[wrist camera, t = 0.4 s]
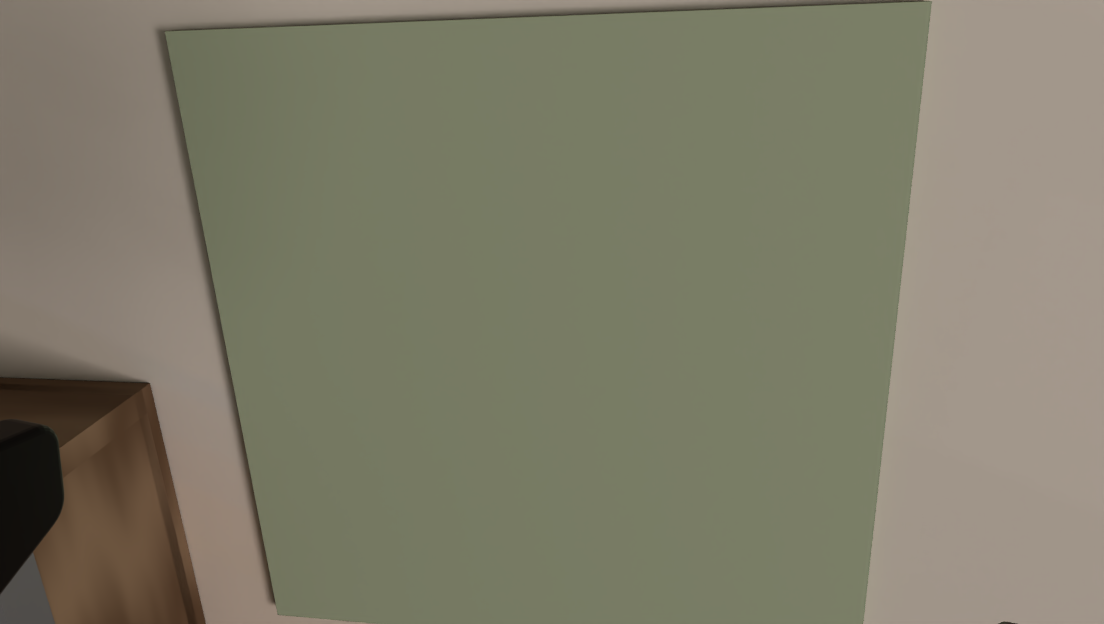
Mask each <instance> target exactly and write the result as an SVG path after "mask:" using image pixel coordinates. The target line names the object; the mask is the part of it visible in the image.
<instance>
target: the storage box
mask: <svg viewBox="0 0 1104 624" xmlns="http://www.w3.org/2000/svg"><path fill="white" fill-rule="evenodd" d="M5 419H18V420H23V421H28V422H33V423H38V424H43V425H47V426H49V427H50V428H51V429H53V430H54V432H55V433H56V435H57V437H58V441H59V449H60V458H61V467H62V476H63V485H64V504H63V508H62V511H61V513H60V515H59V517H58V519H57V521H56V522H55V524H54V525H53V527H52V528H51V529H50V531H49V532H48V533H47V534H46V536H45V537H44V538H43V540H42V541H41V542H40V544H39V545H38V546H37V547H36V549H35V550H34V551H33V554H34V557H35V560H36V564H37V567H38V570H39V573H40V576H41V580H42V583H43V586H44V589H45V592H46V596H47V599H48V602H49V605H50V609H51V612H52V615H53V618H54V621H55V624H206V623H205V618H204V614H203V610H202V606H201V601H200V597H199V593H198V588H197V584H196V580H195V575H194V571H193V567H192V563H191V558H190V554H189V550H188V545H187V541H186V537H185V532H184V528H183V524H182V519H181V515H180V511H179V507H178V502H177V498H176V494H175V489H174V485H173V481H172V476H171V472H170V468H169V464H168V459H167V455H166V451H165V446H164V442H163V438H162V433H161V429H160V425H159V421H158V416H157V412H156V408H155V403H154V399H153V395H152V390H151V386H150V383H128V382H102V381H76V380H50V379H25V378H0V420H5Z"/></svg>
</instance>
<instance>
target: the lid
mask: <svg viewBox="0 0 1104 624" xmlns="http://www.w3.org/2000/svg"><path fill="white" fill-rule="evenodd" d="M0 624H55V621H54V618H53V615H52V612H51V609H50V605H49V602H48V599H47V596H46V592H45V589H44V586H43V583H42V580H41V576H40V573H39V570H38V567H37V564H36V560H35V557H34V554H33V553H32V554H31V555H30V557H29V558H28V559H27V561H26V562H25V563H24V564H23V566H22V567H21V568H20V570H19V571H18V572H17V574H16V575H15V576H14V577H13V579H12V580H11V581H10V583H9V584H8V585H7V587H6V588H5V589H4V591H3V592H2V593H1V594H0Z"/></svg>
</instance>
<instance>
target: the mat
mask: <svg viewBox="0 0 1104 624" xmlns="http://www.w3.org/2000/svg"><path fill="white" fill-rule="evenodd" d="M931 4H932V1H914V2H889V3H863V4H838V5H813V6H788V7H762V8H737V9H712V10H686V11H661V12H636V13H610V14H585V15H560V16H535V17H509V18H484V19H459V20H433V21H408V22H383V23H357V24H332V25H307V26H282V27H256V28H231V29H206V30H180V31H165V36H166V41H167V46H168V51H169V56H170V61H171V67H172V72H173V77H174V82H175V87H176V92H177V97H178V103H179V108H180V113H181V118H182V123H183V128H184V134H185V139H186V144H187V149H188V154H189V159H190V165H191V170H192V175H193V180H194V185H195V190H196V195H197V201H198V206H199V211H200V216H201V221H202V226H203V232H204V237H205V242H206V247H207V252H208V257H209V263H210V268H211V273H212V278H213V283H214V288H215V293H216V299H217V304H218V309H219V314H220V319H221V324H222V330H223V335H224V340H225V345H226V350H227V355H228V361H229V366H230V371H231V376H232V381H233V386H234V391H235V397H236V402H237V407H238V412H239V417H240V422H241V428H242V433H243V438H244V443H245V448H246V453H247V459H248V464H249V469H250V474H251V479H252V484H253V489H254V495H255V500H256V505H257V510H258V515H259V520H260V526H261V531H262V536H263V541H264V546H265V551H266V557H267V562H268V567H269V572H270V577H271V582H272V587H273V593H274V598H275V603H276V608H277V613H278V615H285V616H296V617H308V618H319V619H330V620H342V621H353V622H365V623H376V624H863V621H864V612H865V602H866V593H867V584H868V575H869V566H870V557H871V548H872V539H873V530H874V521H875V512H876V503H877V494H878V485H879V476H880V467H881V457H882V448H883V439H884V430H885V421H886V412H887V403H888V394H889V385H890V376H891V367H892V358H893V349H894V340H895V331H896V322H897V312H898V303H899V294H900V285H901V276H902V267H903V258H904V249H905V240H906V231H907V222H908V213H909V204H910V195H911V186H912V177H913V167H914V158H915V149H916V140H917V131H918V122H919V113H920V104H921V95H922V86H923V77H924V68H925V59H926V50H927V41H928V32H929V22H930V13H931Z"/></svg>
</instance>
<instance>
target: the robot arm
mask: <svg viewBox="0 0 1104 624" xmlns="http://www.w3.org/2000/svg"><path fill="white" fill-rule="evenodd" d="M63 504H64V485H63V476H62V467H61V458H60V449H59V441H58V437H57V435H56V433H55V432H54V430H53V429H51V428H50V427H49V426H47V425H43V424H38V423H33V422H28V421H23V420H18V419H5V420H0V594H1V593H2V592H3V591H4V589H5V588H6V587H7V585H8V584H9V583H10V581H11V580H12V579H13V577H14V576H15V575H16V574H17V572H18V571H19V570H20V568H21V567H22V566H23V564H24V563H25V562H26V561H27V559H28V558H29V557H30V555H31V554H32V553H33V551H34V550H35V549H36V547H37V546H38V545H39V544H40V542H41V541H42V540H43V538H44V537H45V536H46V534H47V533H48V532H49V531H50V529H51V528H52V527H53V525H54V524H55V522H56V521H57V519H58V517H59V515H60V513H61V511H62V508H63ZM999 624H1016V623H1011V622H1001V623H999Z"/></svg>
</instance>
